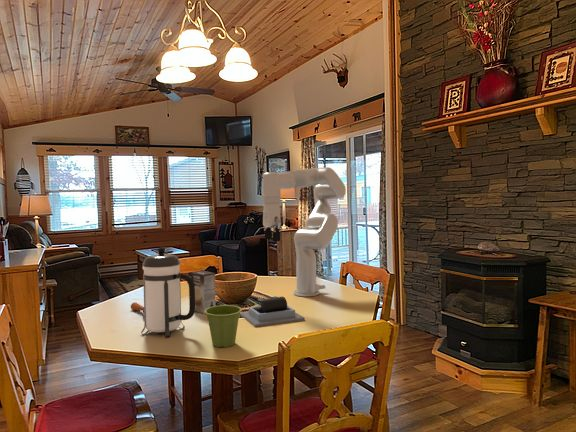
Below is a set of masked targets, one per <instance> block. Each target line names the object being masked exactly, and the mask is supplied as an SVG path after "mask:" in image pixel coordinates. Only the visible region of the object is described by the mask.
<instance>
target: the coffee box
mask: <svg viewBox="0 0 576 432" xmlns="http://www.w3.org/2000/svg"><path fill="white" fill-rule="evenodd" d="M190 277H191V278H192V280H193V282H194V286H195V312H197V313H201V314H203V315H205V314H206V313H205V310H206V309H207V308H210V307H213V306H216V273H215V272H211V271H206V270H199V271H193V272H191V273H190Z"/></svg>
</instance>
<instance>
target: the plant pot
mask: <svg viewBox="0 0 576 432" xmlns="http://www.w3.org/2000/svg"><path fill="white" fill-rule="evenodd" d="M242 311H243V309H242V307H240V306H238V305H231V304H230V305H229V304H226V305H225V304H221V305H215V306H213V307H210V308H207V309H206V310H205V314H206V319H207V321H208V327H209V331H210V337H211V338H210V339H211V343H212V344H211V345H212V346H214V347H216V348H222V347H224V348H229V347H232V346H234V345H235V343H236V341H237V340H236V339H237V332H238V325H239V320H240V316H241V315H240V312H242Z"/></svg>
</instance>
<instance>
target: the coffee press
mask: <svg viewBox="0 0 576 432" xmlns="http://www.w3.org/2000/svg"><path fill="white" fill-rule="evenodd" d="M157 252H158V254H152V255H149V256H146V257H145V259H144V260H143V262H142V271H143V275H142V277H143V284H142V285H143V307H144V314H143V316H144V319H143V320H144V323H143V324H144V326H143V328H142V330H141V331H140V332H141V336H146V335H147V334H148V333H149V332H151V333H164V337H165V338H170V337H171V331H175V330H176V329H180V330H185V327H186V326H185V325H184V324H183V322H182V321H186V320H189V319H191V318H193V317H194V315H195V312H196V311H195V286H194V282H193V280H192V278H191V275H189V274H187V273H181V270H180V266H181V260H180V258H179V257H178V256H177V255H175V254H171V253H165V252H166V249H165V248H164V247H161V246H160V247H159V248H158V249H157ZM181 280H185V282H187V285H188V297H189V299H188V300H189V302H188V303H189V308H188V309H189V311H188V313H187V314H182V299H181V298H182V296H181V295H182V294H181ZM181 325H182V326H183V327H180V326H181ZM145 329H146V332H145ZM143 332H145V333H143Z"/></svg>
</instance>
